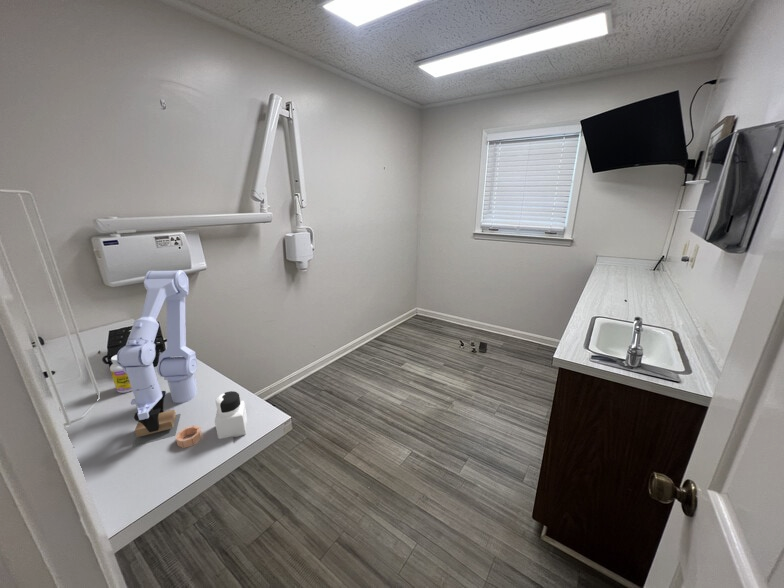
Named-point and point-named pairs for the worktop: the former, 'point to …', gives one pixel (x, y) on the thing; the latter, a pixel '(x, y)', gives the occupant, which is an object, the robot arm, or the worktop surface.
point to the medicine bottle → (230, 415)
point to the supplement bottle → (120, 377)
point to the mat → (157, 434)
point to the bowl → (189, 441)
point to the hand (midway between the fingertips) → (156, 423)
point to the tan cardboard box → (164, 423)
